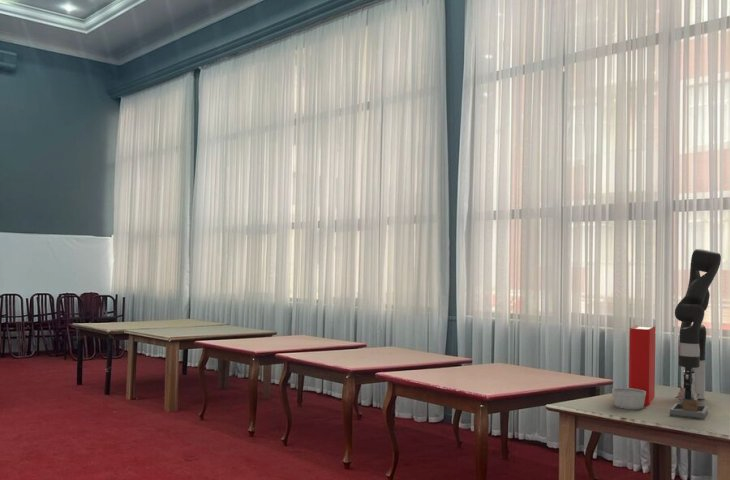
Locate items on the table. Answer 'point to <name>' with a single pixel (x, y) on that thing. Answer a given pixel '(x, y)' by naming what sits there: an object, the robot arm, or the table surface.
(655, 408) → the table surface
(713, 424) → the table surface
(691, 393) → the steel cylinder
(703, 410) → the charcoal tray
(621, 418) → the table surface
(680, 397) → the game die
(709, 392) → the table surface
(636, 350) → the book
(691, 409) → the walnut cube
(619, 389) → the ramekin
